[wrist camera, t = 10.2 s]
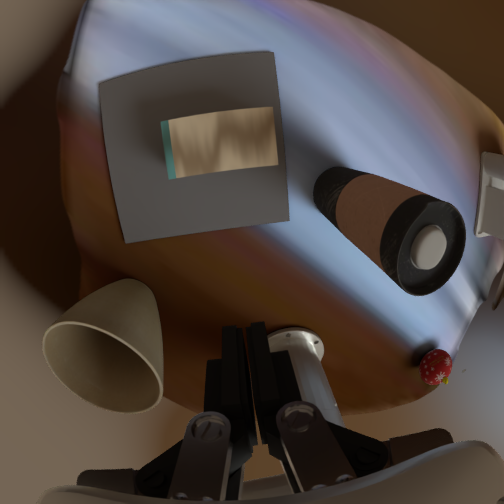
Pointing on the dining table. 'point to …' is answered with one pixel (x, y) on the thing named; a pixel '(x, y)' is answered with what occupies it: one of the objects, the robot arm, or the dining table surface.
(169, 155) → the maple block
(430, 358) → the christmas ornament
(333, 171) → the travel mug
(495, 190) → the phone holder
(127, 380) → the plant pot
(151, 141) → the rubber mat
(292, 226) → the dining table surface
